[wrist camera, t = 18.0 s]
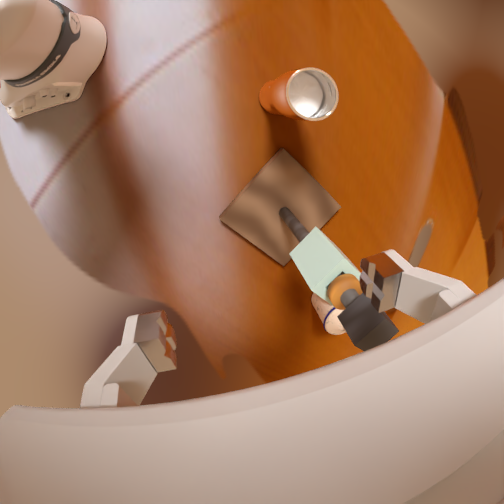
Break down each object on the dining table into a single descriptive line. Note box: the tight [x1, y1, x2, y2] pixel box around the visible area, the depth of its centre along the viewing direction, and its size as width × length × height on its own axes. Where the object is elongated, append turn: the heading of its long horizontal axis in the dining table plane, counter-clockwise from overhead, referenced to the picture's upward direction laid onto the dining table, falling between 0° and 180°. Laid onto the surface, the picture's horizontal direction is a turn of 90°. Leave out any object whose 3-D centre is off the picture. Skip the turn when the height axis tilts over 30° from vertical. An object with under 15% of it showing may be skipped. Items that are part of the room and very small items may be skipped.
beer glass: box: [259, 68, 339, 121], centre depth 33 cm, size 7×7×15 cm
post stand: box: [219, 148, 399, 351], centre depth 36 cm, size 16×16×32 cm
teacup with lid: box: [311, 292, 346, 335], centre depth 57 cm, size 12×9×12 cm
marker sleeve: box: [289, 227, 361, 307], centre depth 33 cm, size 5×5×8 cm
